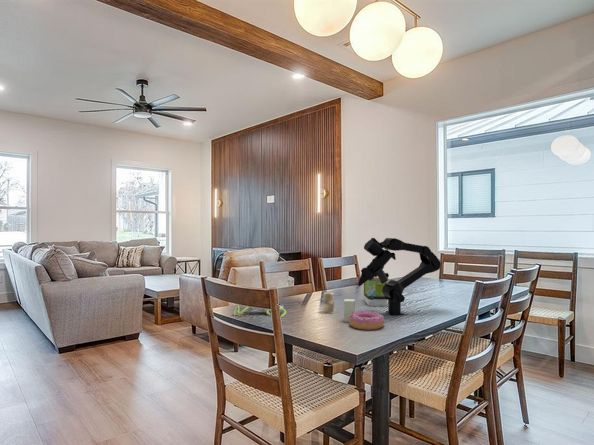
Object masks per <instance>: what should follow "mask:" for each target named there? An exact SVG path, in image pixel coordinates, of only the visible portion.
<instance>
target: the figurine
mask: <svg viewBox="0 0 594 445" xmlns="http://www.w3.org/2000/svg"><path fill="white" fill-rule="evenodd" d="M278 303H279V302H278ZM279 306H280V311H279V312H281V311H283V313H282V314H281V317H280V318H284V317H285V316H286V315H287V310H286V308H284V307H285V306H284V304H282V303H279ZM250 308H251V307H247V306H245V307H244V308H243V309H242V310H240V305H236V307H235V308H234V311H233V313H234V314H233V316H234V317H236V316H237V315H238V316H239V315H242V314H243V313H245V312H246V311H247V310H249V309H250ZM261 311H263V312H264V311H265V313H266V314H267V315H268V314H269V315H268V316H271V312H270V310H264V309H261ZM235 315H236V316H235Z"/></svg>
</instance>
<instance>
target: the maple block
mask: <svg viewBox="0 0 594 445" xmlns="http://www.w3.org/2000/svg"><path fill="white" fill-rule="evenodd" d="M334 313H335V292H326V291H325V292H324V293H323V314H334Z"/></svg>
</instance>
